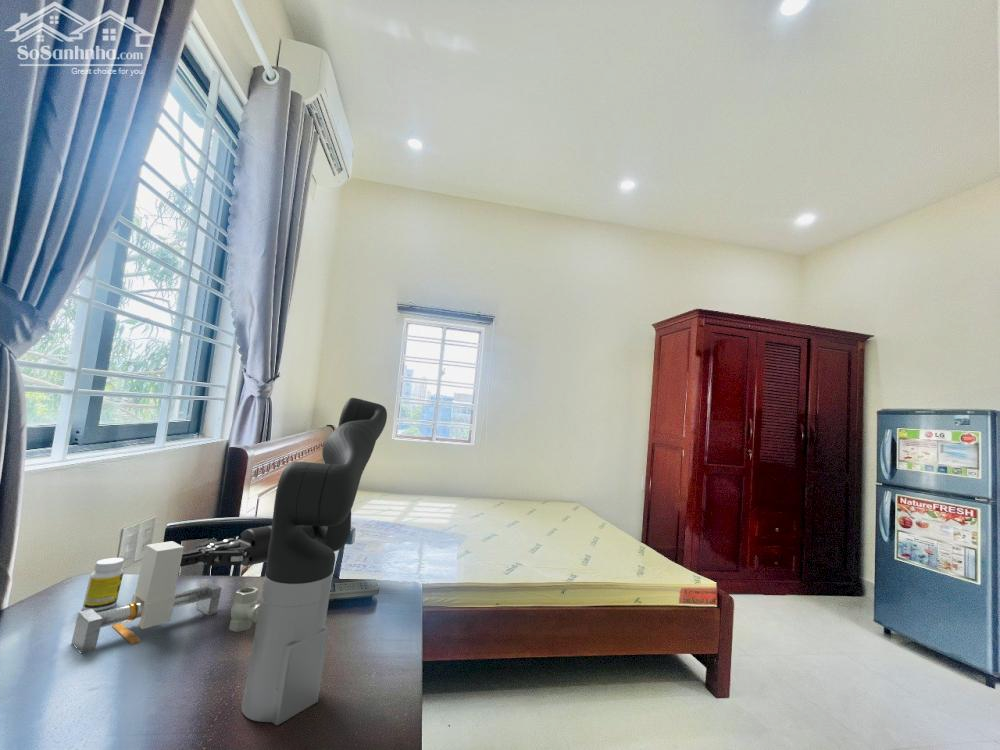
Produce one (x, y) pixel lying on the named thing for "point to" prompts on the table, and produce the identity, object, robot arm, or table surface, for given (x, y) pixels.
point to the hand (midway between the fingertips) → (174, 560)
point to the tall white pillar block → (158, 582)
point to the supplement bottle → (104, 584)
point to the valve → (244, 609)
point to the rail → (137, 616)
